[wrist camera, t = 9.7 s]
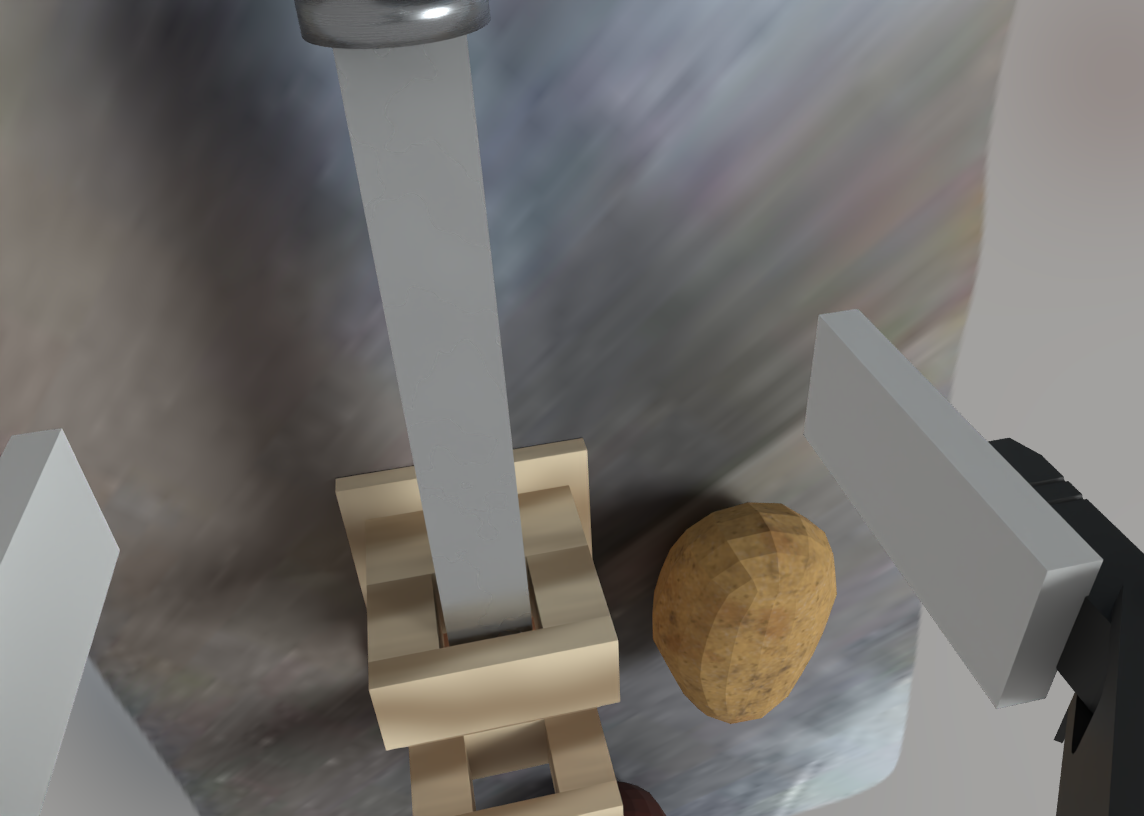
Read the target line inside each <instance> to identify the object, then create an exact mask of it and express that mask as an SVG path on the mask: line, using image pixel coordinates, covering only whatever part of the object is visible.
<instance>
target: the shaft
mask: <svg viewBox="0 0 1144 816" xmlns="http://www.w3.org/2000/svg"><path fill="white" fill-rule="evenodd" d="M294 2H295V6H296V11H297V16H298V21H299V25H300V30H301V35H302V38H303V39H304V40H305V41H307V42H309V43H312V44H315V45H319V46H324V47H331V48H333V52H334V58H335V63H336V68H337V73H338V78H339V83H340V88H341V93H342V99H343V104H344V109H345V114H346V119H347V124H348V129H349V134H350V139H351V145H352V150H353V155H354V160H355V165H356V170H357V175H358V180H359V186H360V191H361V196H362V201H363V206H364V211H365V216H366V221H367V227H368V232H369V237H370V242H371V247H372V252H373V257H374V262H375V268H376V273H377V278H378V283H379V288H380V293H381V298H382V303H383V309H384V314H385V319H386V324H387V329H388V334H389V339H390V344H391V349H392V355H393V360H394V365H395V370H396V375H397V380H398V385H399V390H400V396H401V401H402V406H403V411H404V416H405V421H406V426H407V431H408V437H409V442H410V447H411V452H412V457H413V462H414V467H415V472H416V478H417V483H418V488H419V493H420V498H421V503H422V508H423V513H424V519H425V524H426V529H427V534H428V539H429V544H430V549H431V554H432V559H433V565H434V570H435V575H436V580H437V585H438V590H439V595H440V600H441V606H442V611H443V616H444V621H445V626H446V631H447V636H448V641H449V647H450V646H455V645H460V644H465V643H471V642H476V641H481V640H486V639H491V638H496V637H501V636H507V635H512V634H517V633H522V632H527V631H532V630H533V627H532V618H531V609H530V600H529V591H528V582H527V573H526V564H525V555H524V546H523V537H522V528H521V519H520V510H519V501H518V492H517V484H516V475H515V466H514V457H513V448H512V439H511V430H510V421H509V412H508V403H507V394H506V385H505V376H504V367H503V358H502V349H501V340H500V331H499V322H498V313H497V304H496V295H495V286H494V277H493V268H492V259H491V250H490V241H489V232H488V223H487V214H486V205H485V196H484V187H483V178H482V169H481V160H480V151H479V142H478V133H477V124H476V115H475V106H474V97H473V88H472V79H471V70H470V61H469V52H468V43H467V34H469V33H472V32H474V31H477V30H479V29H481V28H483V27H484V26H486V25H487V24H488V23H489V22H490V9H489V0H294Z"/></svg>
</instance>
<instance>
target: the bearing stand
mask: <svg viewBox="0 0 1144 816" xmlns="http://www.w3.org/2000/svg"><path fill="white" fill-rule="evenodd" d="M513 457H514V466H515V475H516V484H517V492H518V501H519V510H520V519H521V528H522V537H523V546H524V555H525V564H526V573H527V582H528V591H529V600H530V609H531V617H533V619H534V623H535V628H536V630H532V631H527V632H522V633H517V634H512V635H507V636H501V637H496V638H491V639H486V640H481V641H476V642H471V643H465V644H460V645H455V646H450V647H445V646H444V637H443V634H444V633H447V631H446V626H445V621H444V616H443V611H442V606H441V600H440V595H439V590H438V585H437V580H436V575H435V570H434V565H433V559H432V554H431V549H430V544H429V539H428V534H427V529H426V524H425V519H424V513H423V508H422V503H421V498H420V493H419V488H418V483H417V478H416V472H415V467H414V466H410V467H404V468H398V469H392V470H386V471H379V472H373V473H367V474H361V475H355V476H349V477H343V478H337V479H336V488H335V492H336V496H337V500H338V504H339V507H340V511H341V515H342V519H343V522H344V526H345V530H346V534H347V537H348V541H349V545H350V549H351V552H352V556H353V560H354V564H355V567H356V571H357V575H358V579H359V582H360V586H361V590H362V593H363V597H364V601H365V605H366V608H367V630H368V674H369V692H370V695H371V699H372V702H373V706H374V709H375V713H376V716H377V720H378V723H379V727H380V730H381V734H382V737H383V741H384V744H385V748H386V750H391V749H396V748H401V747H408V746H409V758H410V774H411V790H412V806H413V816H623V804H622V800H621V796H620V792H619V789H618V785H617V781H616V778H615V774H614V770H613V767H612V763H611V759H610V756H609V752H608V748H607V744H606V741H605V737H604V733H603V730H602V726H601V722H600V719H599V715H598V711H597V708H596V707H600V706H603V705H607V704H612V703H617V702H620V685H619V650H618V638H617V635H616V632H615V629H614V625H613V622H612V619H611V616H610V613H609V610H608V607H607V603H606V600H605V597H604V594H603V591H602V588H601V585H600V581H599V578H598V575H597V572H596V569H595V566H594V562H593V559H592V540H591V520H590V500H589V480H588V460H587V449H586V446H585V443H584V440H583V438H579V439H573V440H567V441H561V442H555V443H549V444H543V445H537V446H531V447H525V448H519V449H513ZM547 763H549V765H550V770H551V775H552V780H553V785H554V789H555V794H551V795H547V796H542V797H538V798H533V799H529V800H524V801H520V802H515V803H511V804H506V805H502V806H497V807H492V808H488V809H483V810H479V811H476V806H475V798H474V790H473V782H472V780H473V779H478V778H483V777H487V776H492V775H496V774H501V773H506V772H510V771H515V770H520V769H524V768H529V767H534V766H538V765H543V764H547Z"/></svg>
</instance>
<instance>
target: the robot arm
mask: <svg viewBox="0 0 1144 816" xmlns="http://www.w3.org/2000/svg"><path fill="white" fill-rule="evenodd" d="M803 435H804V436H805V438H806V439H807V440H808V442H809V443H810V445H811V446H812V448H813V449H814V450H815V452H816V453H817V455H818V456H819V457H820V459H821V460H822V462H823V463H824V465H825V466H826V467H827V469H828V470H829V472H830V473H831V475H832V476H833V477H834V479H835V480H836V482H837V483H838V484H839V486H840V487H841V489H842V490H843V492H844V493H845V494H846V496H847V497H848V499H849V500H850V502H851V503H852V504H853V506H854V507H855V509H856V510H857V512H858V513H859V514H860V516H861V517H862V519H863V520H864V521H865V523H866V524H867V526H868V527H869V529H870V530H871V531H872V533H873V534H874V536H875V537H876V539H877V540H878V541H879V543H880V544H881V546H882V547H883V548H884V550H885V551H886V553H887V554H888V556H889V557H890V558H891V560H892V561H893V563H894V564H895V566H896V567H897V568H898V570H899V571H900V573H901V574H902V575H903V577H904V578H905V580H906V581H907V583H908V584H909V585H910V587H911V588H912V590H913V591H914V593H915V594H916V595H917V597H918V598H919V600H920V601H921V602H922V604H923V605H924V607H925V608H926V610H927V611H928V612H929V614H930V615H931V617H932V618H933V620H934V621H935V622H936V624H937V625H938V627H939V628H940V629H941V631H942V632H943V634H944V635H945V637H946V638H947V639H948V641H949V642H950V644H951V645H952V646H953V648H954V649H955V651H956V652H957V654H958V655H959V657H960V658H961V659H962V661H963V662H964V664H965V665H966V666H967V668H968V669H969V671H970V672H971V674H972V675H973V676H974V678H975V679H976V681H977V682H978V683H979V685H980V686H981V688H982V689H983V691H984V692H985V693H986V695H987V696H988V698H989V699H990V700H991V702H992V703H993V705H994V706H995V708H996V709H999V708H1004V707H1008V706H1013V705H1017V704H1022V703H1027V702H1031V701H1035V700H1040V699H1045V698H1046V696H1047V694H1048V691H1049V689H1050V686H1051V684H1052V682H1053V679H1054V677H1055V674H1056V672H1057V670H1058V671H1059V672H1060V674H1061V675H1062V676H1063V678H1064V679H1065V680H1066V681H1067V683H1068V684H1069V685H1070V686H1071V688H1072V689H1073V690H1074V691H1075V693H1074V696H1073V698H1072V700H1071V703H1070V705H1069V707H1068V709H1067V712H1066V714H1065V716H1064V718H1063V720H1062V723H1061V725H1060V727H1059V729H1058V732H1057V734H1056V736H1055V739H1054V740H1055V741H1058V742H1061V743H1063V741H1064V739H1065V742H1064V751H1063V760H1062V768H1061V777H1060V786H1059V795H1058V804H1057V813H1056V816H1144V554H1143V553H1142V552H1141V551H1140V550H1139V549H1138V548H1137V547H1136V546H1135V545H1134V544H1133V543H1132V542H1131V541H1130V540H1129V539H1128V538H1127V537H1126V536H1125V535H1124V534H1123V533H1122V532H1121V531H1120V530H1119V529H1118V528H1116V527H1115V526H1114V525H1113V524H1112V523H1111V522H1110V521H1109V520H1108V519H1107V518H1106V517H1105V516H1104V515H1103V514H1102V513H1101V512H1100V511H1099V510H1098V509H1097V508H1096V507H1095V506H1094V505H1093V504H1092V503H1090V502H1089V501H1088V500H1087V499H1085V500H1084V499H1083V498H1082V494H1081V493H1080V492H1079V491H1078V490H1077V489H1076V488H1075V487H1074V486H1072V484H1071V483H1070V482H1069V481H1067V482H1065V481H1064V477H1063V476H1062V475H1061V474H1060V473H1059V472H1058V471H1057V470H1056V469H1055V468H1054V467H1053V466H1052V465H1051V464H1050V463H1049V462H1048V461H1047V460H1046V459H1045V458H1044V457H1043V456H1042V455H1040V454H1038V453H1037V452H1035V451H1033V450H1031V449H1029V448H1027V447H1025V446H1023V445H1022V444H1020V443H1018V442H1016V441H1014V440H1013V439H1011V438H1005V439H1000V440H994V441H989V442H988V441H986V439H984V437H983V436H982V435H981V434H980V433H979V432H978V431H977V430H976V429H975V428H974V427H973V426H972V425H971V424H970V423H969V422H968V421H967V420H966V419H965V418H964V417H963V416H962V415H961V414H960V413H959V412H958V411H957V410H956V409H955V408H954V407H953V406H952V405H951V404H950V403H949V402H948V400H947V399H946V398H945V397H944V396H943V395H942V394H941V393H940V392H939V391H938V390H937V389H936V388H935V387H934V386H933V385H932V384H931V383H930V382H929V381H928V380H927V379H926V378H925V377H924V376H923V375H922V374H921V373H920V372H919V371H918V370H917V369H916V368H915V367H914V366H913V365H912V364H911V363H910V362H909V361H908V360H907V359H906V358H905V357H904V356H903V354H902V353H901V352H900V351H899V350H898V349H897V348H896V347H895V346H894V345H893V344H892V343H891V342H890V341H889V340H888V339H887V338H886V337H885V336H884V335H883V334H882V333H881V332H880V331H879V330H878V329H877V328H876V327H875V326H874V325H873V324H872V323H871V322H870V321H869V320H868V319H867V318H866V317H865V316H864V315H863V314H862V313H861V312H860V311H859V310H858V309H854V310H847V311H841V312H834V313H827V314H821V315H819V318H818V325H817V333H816V341H815V349H814V356H813V364H812V372H811V380H810V387H809V395H808V403H807V411H806V418H805V426H804V434H803ZM119 551H120V549H119V547H118V545H117V543H116V541H115V539H114V537H113V535H112V533H111V530H110V528H109V526H108V524H107V522H106V520H105V518H104V516H103V514H102V512H101V509H100V507H99V505H98V503H97V501H96V499H95V497H94V495H93V493H92V490H91V488H90V486H89V484H88V482H87V480H86V478H85V476H84V474H83V472H82V469H81V467H80V465H79V463H78V461H77V459H76V457H75V455H74V453H73V451H72V448H71V446H70V444H69V442H68V440H67V438H66V436H65V434H64V432H63V429H62V428H59V429H53V430H46V431H39V432H33V433H26V434H19V435H13V436H11V438H10V440H9V442H8V444H7V446H6V448H5V450H4V452H3V453H2V455H1V457H0V816H40V813H41V810H42V806H43V803H44V800H45V796H46V793H47V790H48V786H49V783H50V779H51V776H52V773H53V770H54V766H55V763H56V760H57V756H58V753H59V750H60V747H61V743H62V740H63V737H64V733H65V730H66V727H67V723H68V720H69V717H70V713H71V710H72V706H73V704H74V700H75V697H76V694H77V690H78V687H79V684H80V680H81V677H82V674H83V670H84V667H85V664H86V660H87V657H88V654H89V651H90V647H91V644H92V641H93V637H94V634H95V631H96V627H97V624H98V621H99V617H100V614H101V611H102V608H103V604H104V601H105V598H106V594H107V591H108V588H109V584H110V581H111V578H112V574H113V571H114V568H115V564H116V561H117V558H118V555H119Z"/></svg>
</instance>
